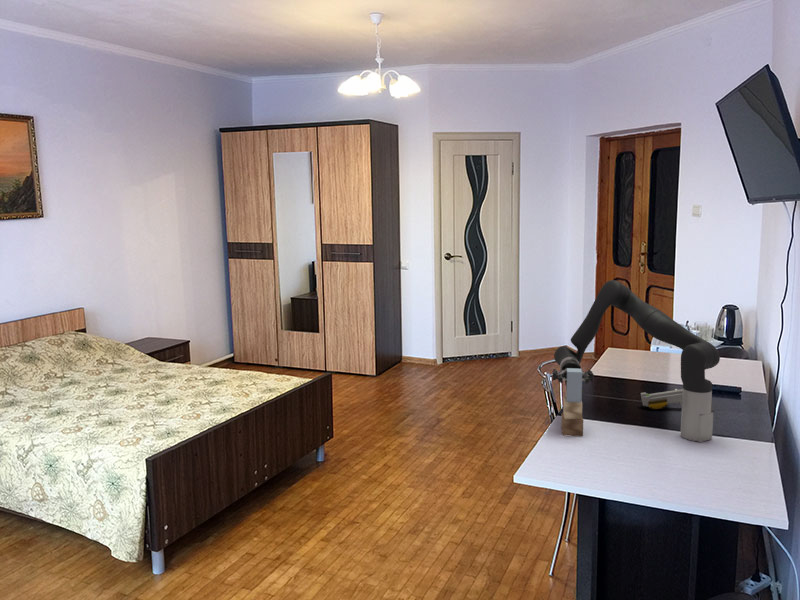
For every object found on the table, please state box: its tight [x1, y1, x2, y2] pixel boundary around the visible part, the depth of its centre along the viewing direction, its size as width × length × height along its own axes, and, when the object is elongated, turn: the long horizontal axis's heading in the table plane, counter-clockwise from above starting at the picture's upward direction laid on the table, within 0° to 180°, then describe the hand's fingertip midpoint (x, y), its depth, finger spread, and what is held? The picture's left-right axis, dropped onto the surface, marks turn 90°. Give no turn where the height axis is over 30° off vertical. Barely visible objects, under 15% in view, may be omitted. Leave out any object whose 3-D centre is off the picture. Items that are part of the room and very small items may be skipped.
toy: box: [640, 388, 714, 412], centre depth 258 cm, size 6×25×11 cm, turn 79°
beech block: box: [562, 396, 583, 420], centre depth 235 cm, size 6×6×6 cm
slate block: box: [565, 368, 583, 404], centre depth 233 cm, size 5×5×11 cm
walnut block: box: [560, 412, 584, 437], centre depth 236 cm, size 7×7×6 cm
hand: (574, 380), depth 231 cm, fingers open, 8 cm apart
